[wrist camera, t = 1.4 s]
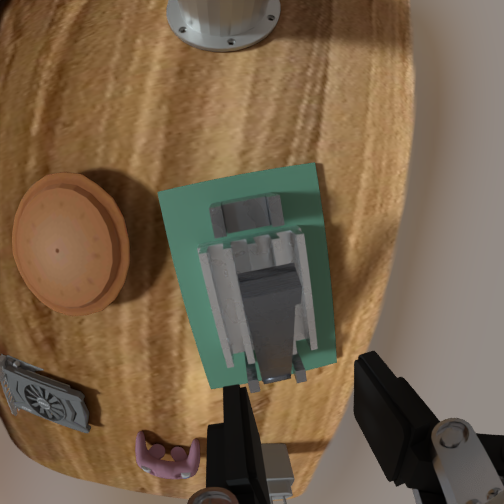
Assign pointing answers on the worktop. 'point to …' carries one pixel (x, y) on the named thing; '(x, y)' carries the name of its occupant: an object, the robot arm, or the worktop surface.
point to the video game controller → (167, 469)
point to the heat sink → (249, 259)
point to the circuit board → (201, 231)
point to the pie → (71, 244)
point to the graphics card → (42, 395)
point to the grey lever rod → (272, 317)
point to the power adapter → (278, 471)
